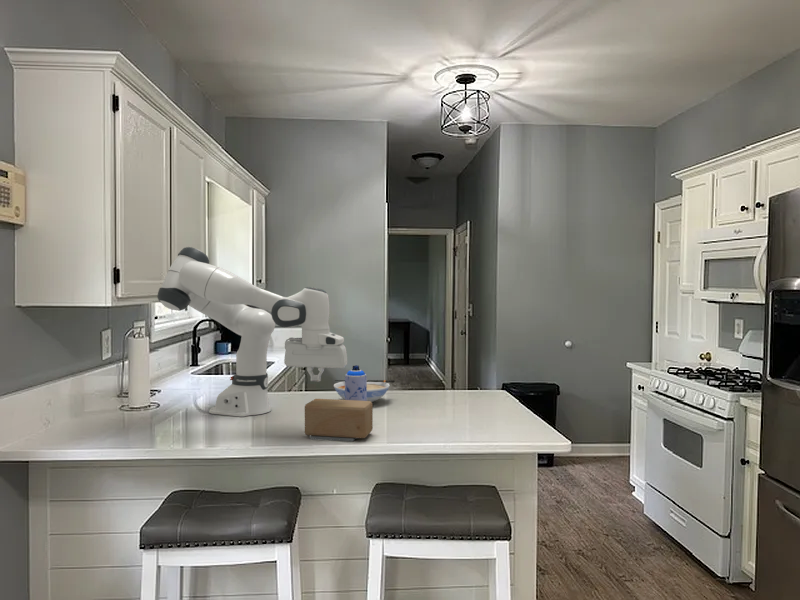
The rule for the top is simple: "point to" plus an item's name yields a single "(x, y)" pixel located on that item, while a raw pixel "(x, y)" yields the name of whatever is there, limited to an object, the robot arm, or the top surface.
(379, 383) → the ramen bowl
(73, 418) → the top surface
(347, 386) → the aerosol can
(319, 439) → the mat
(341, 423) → the wooden block
